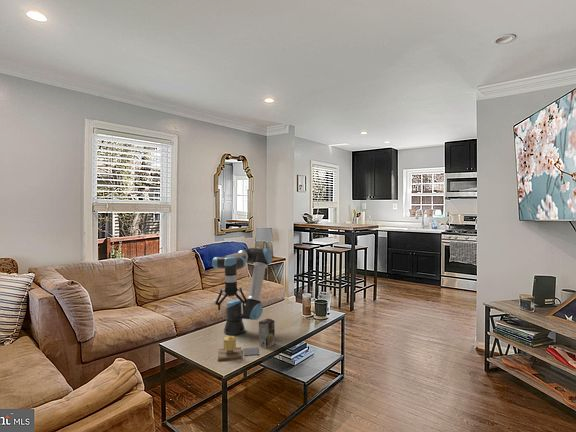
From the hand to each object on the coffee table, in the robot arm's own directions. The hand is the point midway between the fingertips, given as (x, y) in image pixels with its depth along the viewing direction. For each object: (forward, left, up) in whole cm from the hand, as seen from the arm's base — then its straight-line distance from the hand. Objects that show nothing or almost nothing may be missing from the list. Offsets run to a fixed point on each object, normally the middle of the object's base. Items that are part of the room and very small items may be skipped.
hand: (231, 314), depth 217 cm
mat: (+7, +12, -23) cm, 26 cm away
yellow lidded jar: (+9, -1, -18) cm, 20 cm away
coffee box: (-2, +23, -23) cm, 32 cm away
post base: (+9, -1, -23) cm, 24 cm away
